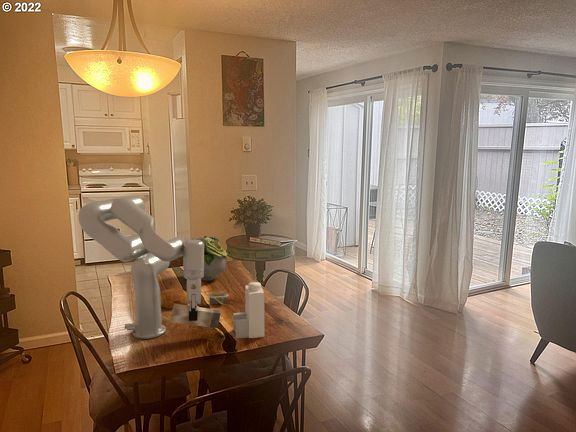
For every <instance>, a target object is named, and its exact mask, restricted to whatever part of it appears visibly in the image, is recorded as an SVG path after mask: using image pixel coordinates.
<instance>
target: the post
mask: <svg viewBox="0 0 576 432" xmlns="http://www.w3.org/2000/svg"><path fill="white" fill-rule="evenodd" d="M244 289H245V291H244V292H245V299H244V302H245V309H244V310H245V312H235V313H234V312H233V331H234V332H235V339H245V338H249V339H255V338H256V339H257V338H264V337H265V292H264V289H263V287H262V284H261V282H257V281H253V282H252V281H251V282H249V283H248V284H247V285H244Z"/></svg>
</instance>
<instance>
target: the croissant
mask: <svg viewBox="0 0 576 432" xmlns="http://www.w3.org/2000/svg"><path fill="white" fill-rule="evenodd" d="M160 299H161V308H164V309H165V310H167V309H169V310H171V309H173V305H174V304H180V305H187V306H188V305H189V304H188V300H187V291H185V290H183V289H182V288H178V287H176V288H174V287H173V288H168V289H164V290H162V291H160Z"/></svg>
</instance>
